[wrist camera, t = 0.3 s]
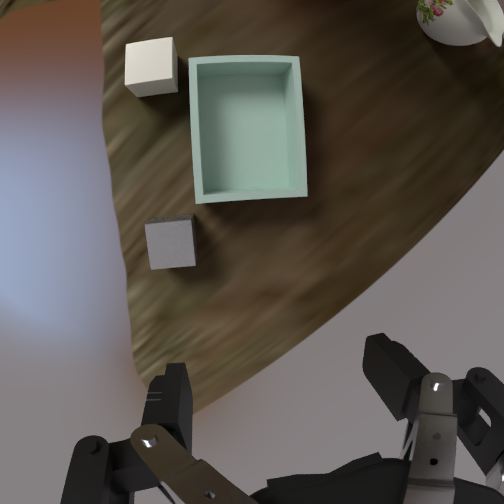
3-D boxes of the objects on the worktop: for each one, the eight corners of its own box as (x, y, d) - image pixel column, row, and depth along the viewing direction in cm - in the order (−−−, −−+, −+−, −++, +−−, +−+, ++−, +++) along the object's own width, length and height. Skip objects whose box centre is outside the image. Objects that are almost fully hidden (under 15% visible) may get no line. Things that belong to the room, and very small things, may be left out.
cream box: (137, 61, 30) (126, 44, 24) (177, 56, 31) (172, 37, 25) (137, 97, 32) (124, 85, 26) (178, 92, 32) (172, 78, 26)
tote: (191, 73, 32) (188, 58, 26) (286, 70, 33) (298, 56, 28) (198, 198, 36) (195, 203, 31) (293, 192, 37) (307, 196, 32)
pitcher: (446, -5, 30) (492, -28, 17) (459, 74, 35) (518, 62, 22) (398, -29, 29) (442, -63, 16) (410, 53, 33) (470, 28, 20)
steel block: (153, 217, 36) (144, 224, 31) (193, 213, 36) (191, 219, 32) (158, 256, 37) (151, 269, 32) (197, 253, 38) (195, 265, 33)
